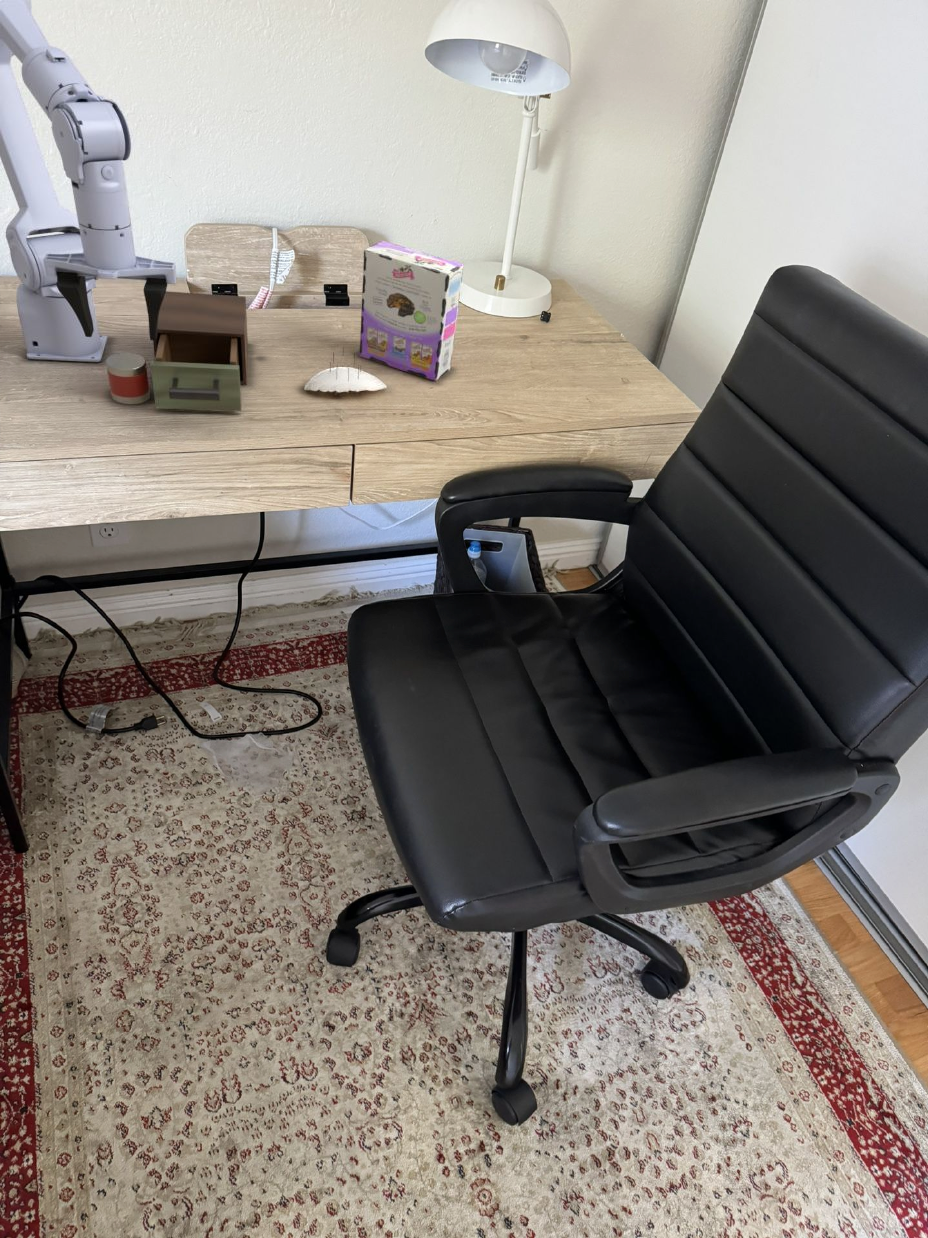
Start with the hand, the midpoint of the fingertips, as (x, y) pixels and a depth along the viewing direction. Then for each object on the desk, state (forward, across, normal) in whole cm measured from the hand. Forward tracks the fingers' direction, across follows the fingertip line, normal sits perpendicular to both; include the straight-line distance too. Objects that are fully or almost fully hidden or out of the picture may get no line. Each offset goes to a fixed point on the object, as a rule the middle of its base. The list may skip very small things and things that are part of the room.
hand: (122, 335), depth 102 cm
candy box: (+9, +39, +14) cm, 42 cm away
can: (+8, 0, 0) cm, 8 cm away
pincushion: (+9, +29, +4) cm, 31 cm away
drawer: (+8, +9, 0) cm, 12 cm away
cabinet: (+8, +9, +11) cm, 17 cm away
